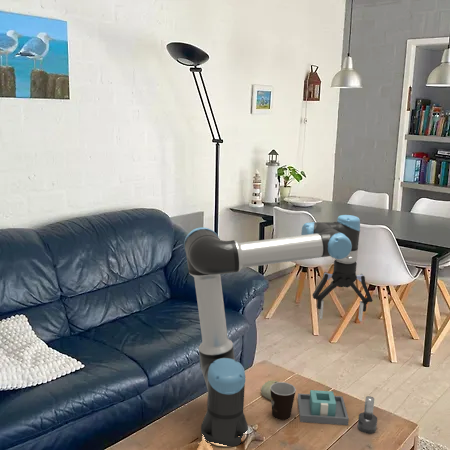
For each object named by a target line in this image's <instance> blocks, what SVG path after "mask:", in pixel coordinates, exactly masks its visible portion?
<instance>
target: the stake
mask: <svg viewBox="0 0 450 450" xmlns="http://www.w3.org/2000/svg"><path fill="white" fill-rule="evenodd" d="M374 405H375V398H374V397H373V396H371V395H369V396H368V395H367V396H365V400H364V407H363V409H364V410H363V412H361V413H359V414H358V420H357V429H358V430H359V431H360V432H361V433H364V434H366V435H367V434H369V435H370V434H375V433H376V432H377V426H378V417H377V416H376V415H375V414H374V407H375V406H374Z"/></svg>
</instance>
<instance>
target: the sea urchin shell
mask: <svg viewBox="0 0 450 450" xmlns="http://www.w3.org/2000/svg"><path fill="white" fill-rule="evenodd" d="M275 382H279V380H268V381H266V382H264V383H263V385H261V388H260V394H261V395H262V396H263V398H266V399H267V400H270V401H271V389H270V387H271V385H272V384H274V383H275Z"/></svg>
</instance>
